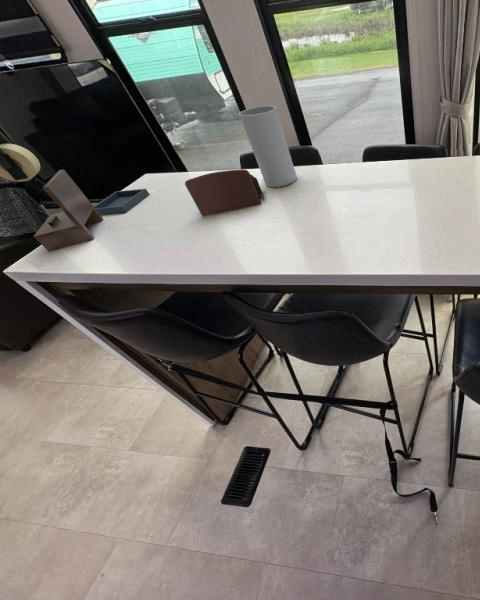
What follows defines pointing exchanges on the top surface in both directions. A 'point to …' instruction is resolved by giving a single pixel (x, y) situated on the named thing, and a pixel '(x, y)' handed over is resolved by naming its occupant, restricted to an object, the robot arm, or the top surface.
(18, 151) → the tape roll
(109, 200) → the tray
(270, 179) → the cylinder vase
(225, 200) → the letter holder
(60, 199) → the stand
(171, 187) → the top surface
